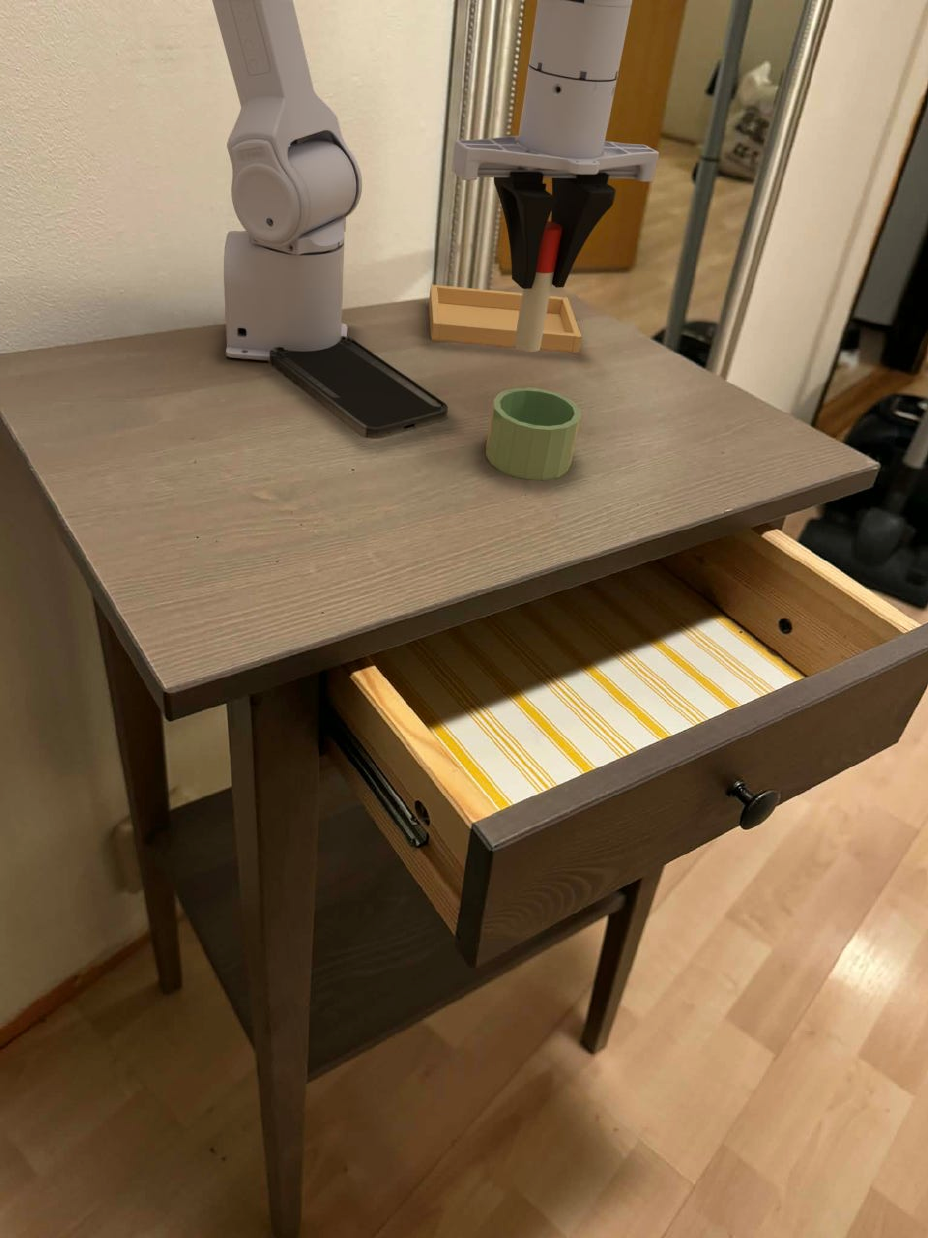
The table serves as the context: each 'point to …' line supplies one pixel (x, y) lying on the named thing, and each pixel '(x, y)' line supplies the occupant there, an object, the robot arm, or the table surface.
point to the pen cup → (532, 433)
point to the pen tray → (496, 318)
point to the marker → (538, 293)
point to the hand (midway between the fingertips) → (537, 282)
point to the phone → (360, 388)
